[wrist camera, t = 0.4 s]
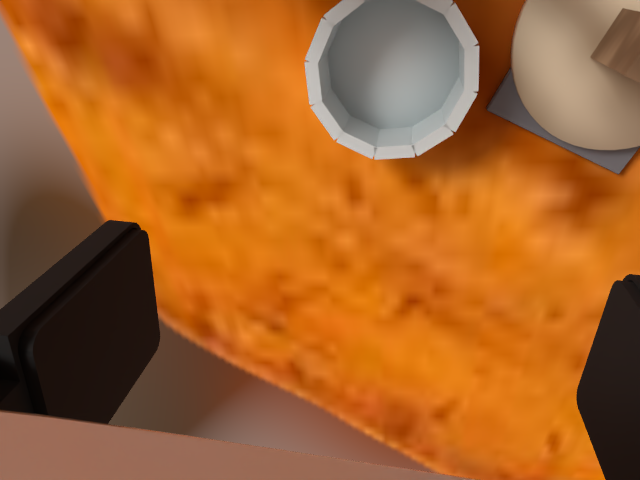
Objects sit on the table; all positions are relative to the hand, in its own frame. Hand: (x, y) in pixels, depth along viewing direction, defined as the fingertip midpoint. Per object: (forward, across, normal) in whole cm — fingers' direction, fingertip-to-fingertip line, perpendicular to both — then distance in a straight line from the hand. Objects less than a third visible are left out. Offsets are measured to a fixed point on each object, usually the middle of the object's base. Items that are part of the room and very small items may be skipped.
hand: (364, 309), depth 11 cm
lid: (+28, -13, -3) cm, 31 cm away
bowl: (+28, 0, -1) cm, 28 cm away
